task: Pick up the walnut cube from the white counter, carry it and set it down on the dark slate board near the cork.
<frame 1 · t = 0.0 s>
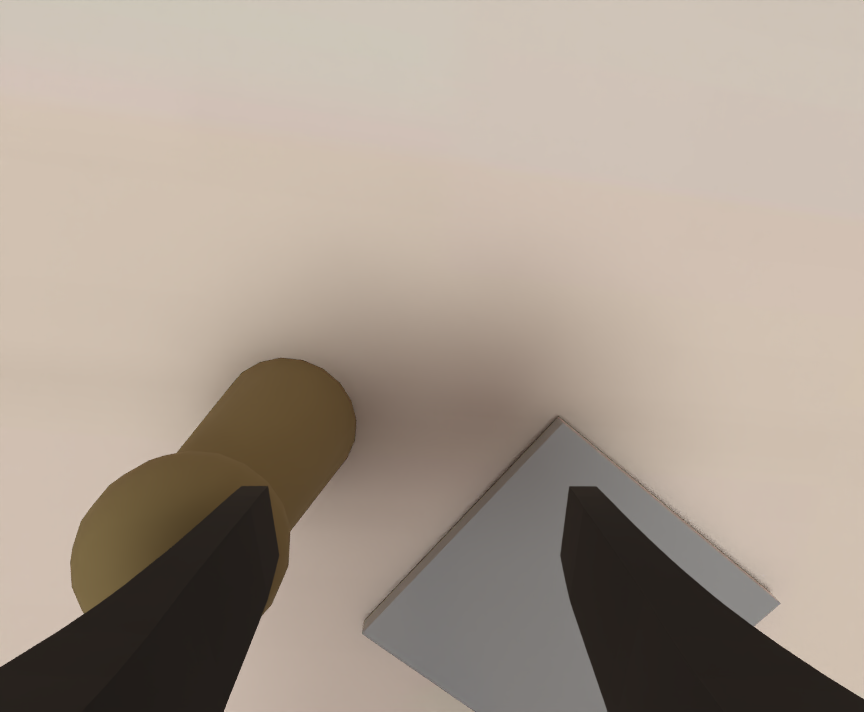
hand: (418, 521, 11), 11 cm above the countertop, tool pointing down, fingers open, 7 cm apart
cork: (290, 421, 22), on the countertop, touching gripper
slate board: (564, 606, 24), on the countertop
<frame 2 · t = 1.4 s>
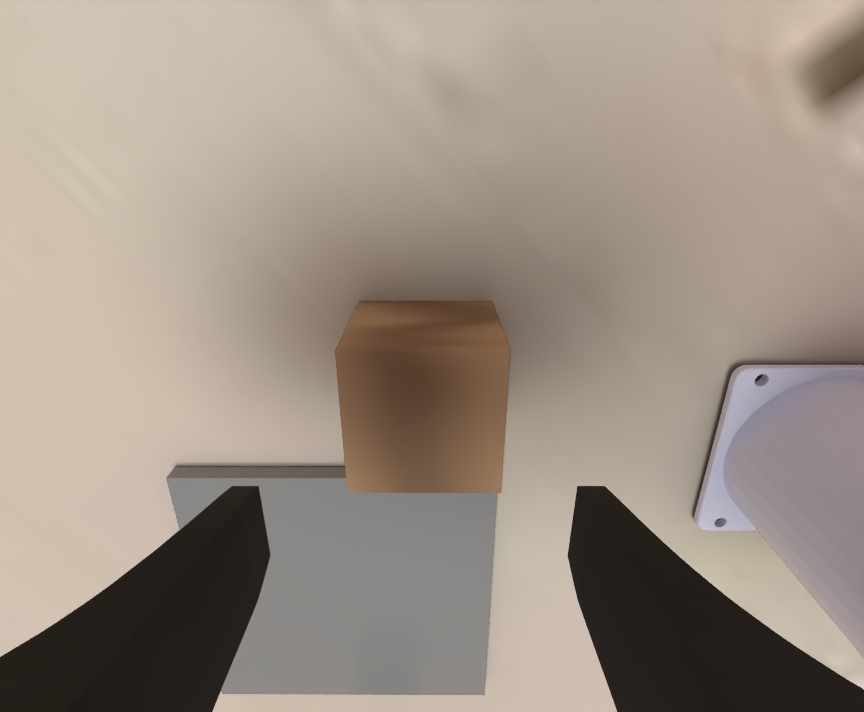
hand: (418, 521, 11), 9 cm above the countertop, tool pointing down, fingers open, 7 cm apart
walnut cube: (426, 360, 20), on the countertop
slate board: (346, 585, 24), on the countertop
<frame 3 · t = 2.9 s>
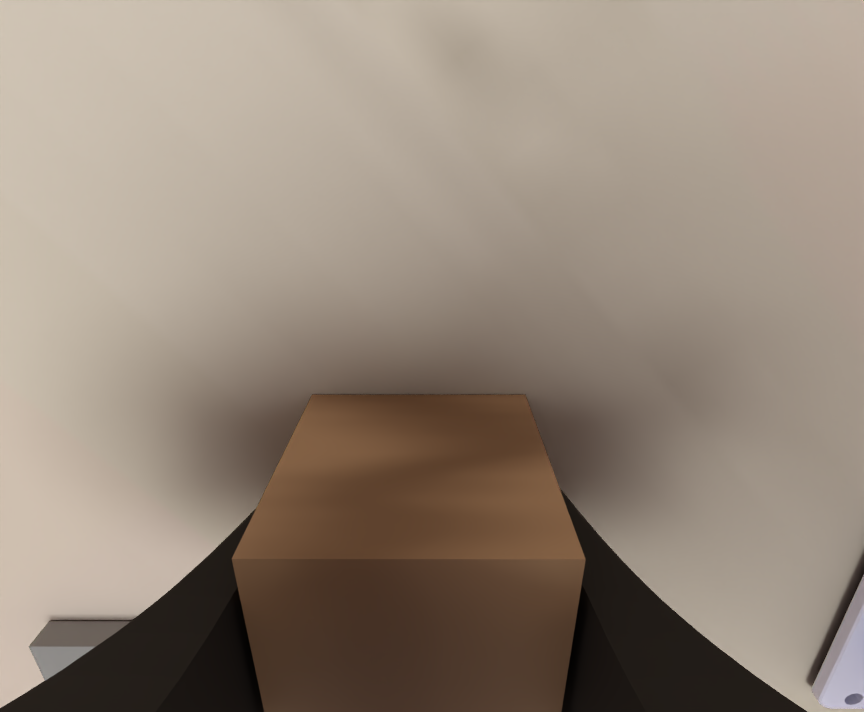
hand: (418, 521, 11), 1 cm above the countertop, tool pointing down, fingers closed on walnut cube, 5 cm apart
walnut cube: (419, 481, 13), on the countertop, touching gripper
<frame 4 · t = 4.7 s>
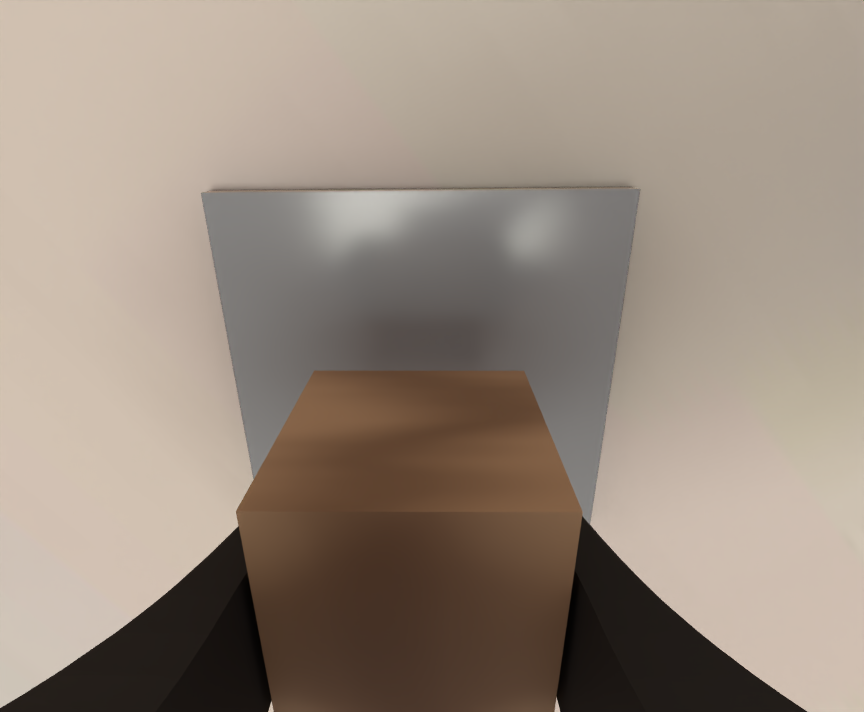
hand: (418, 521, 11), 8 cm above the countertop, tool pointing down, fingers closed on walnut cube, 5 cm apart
walnut cube: (420, 459, 13), point 7 cm above the countertop, touching gripper
slate board: (423, 378, 19), on the countertop
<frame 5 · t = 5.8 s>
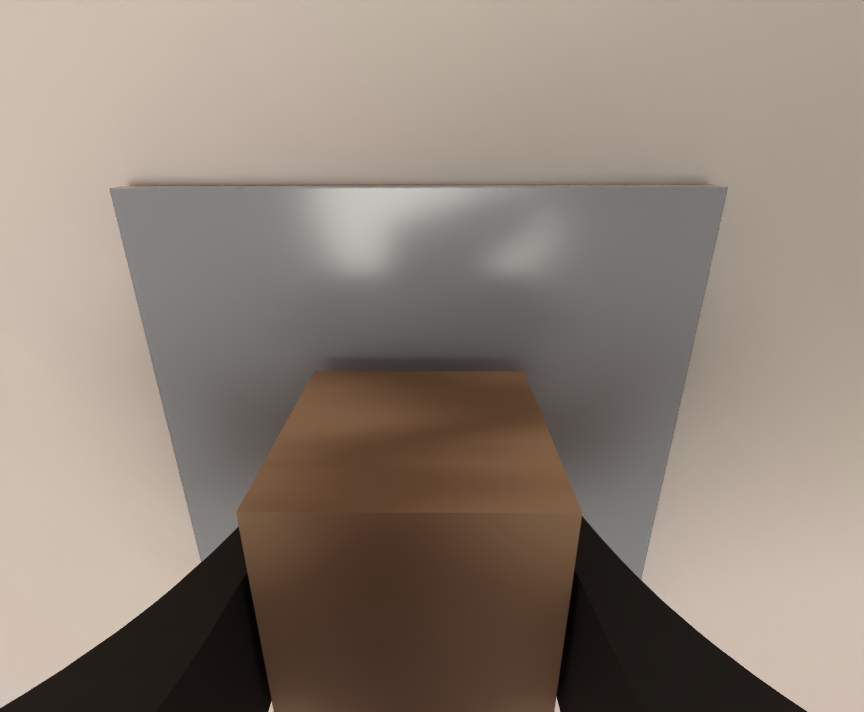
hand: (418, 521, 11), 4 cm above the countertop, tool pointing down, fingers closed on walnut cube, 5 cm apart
walnut cube: (420, 459, 13), point 2 cm above the countertop, touching gripper
slate board: (421, 434, 15), on the countertop
when the fingers open (4 cm above the countertop, at t = 6.5 s): walnut cube drops 1 cm, resting on slate board.
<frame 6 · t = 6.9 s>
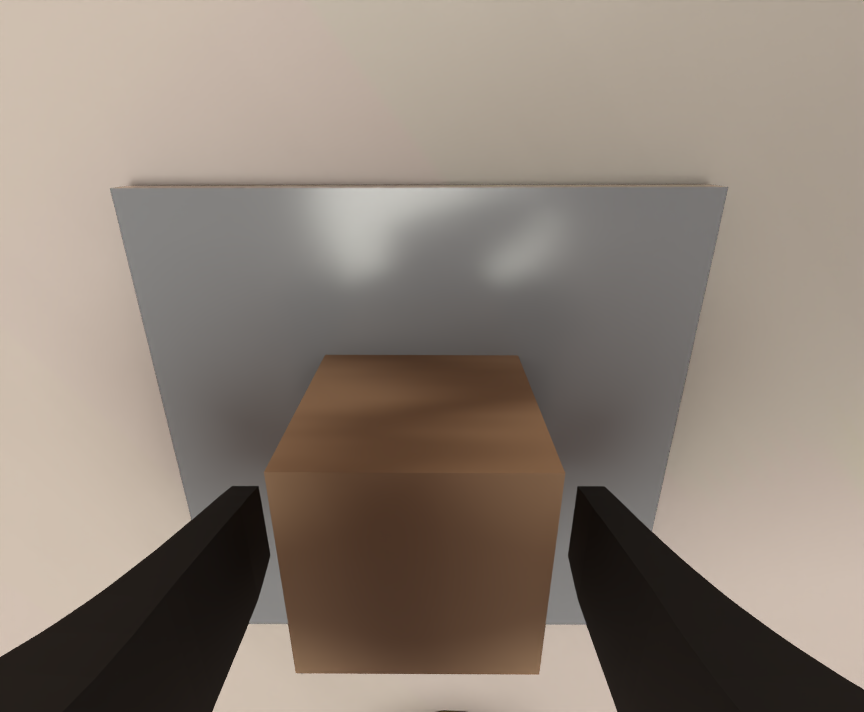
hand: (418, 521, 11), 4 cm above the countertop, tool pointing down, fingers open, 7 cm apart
walnut cube: (422, 437, 14), point 1 cm above the countertop, touching slate board
slate board: (422, 433, 15), on the countertop
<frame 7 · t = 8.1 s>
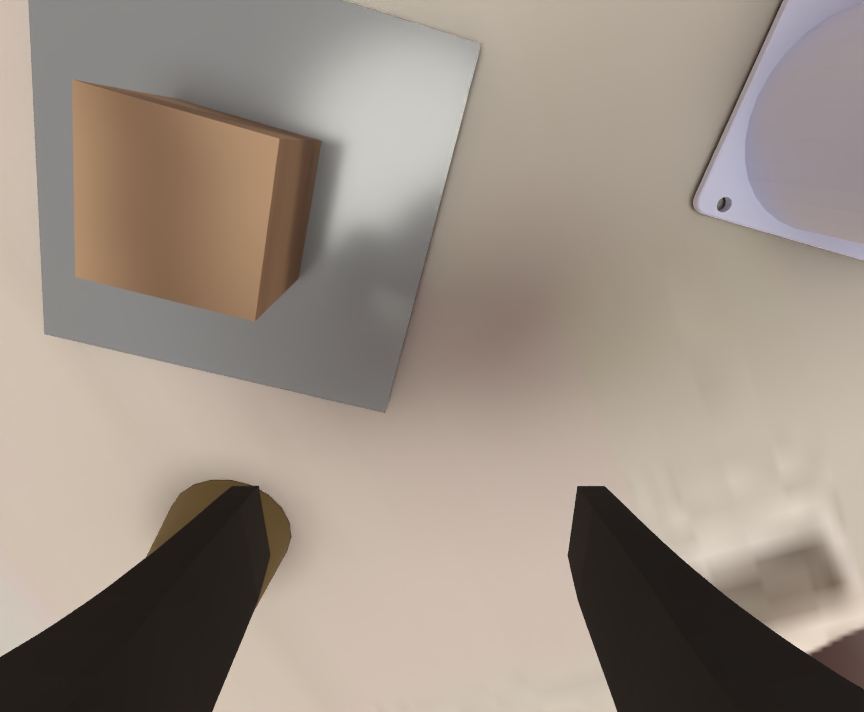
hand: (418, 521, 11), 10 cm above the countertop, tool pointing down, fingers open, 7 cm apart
walnut cube: (240, 194, 18), point 1 cm above the countertop, touching slate board
cork: (232, 526, 25), on the countertop
slate board: (246, 202, 18), on the countertop
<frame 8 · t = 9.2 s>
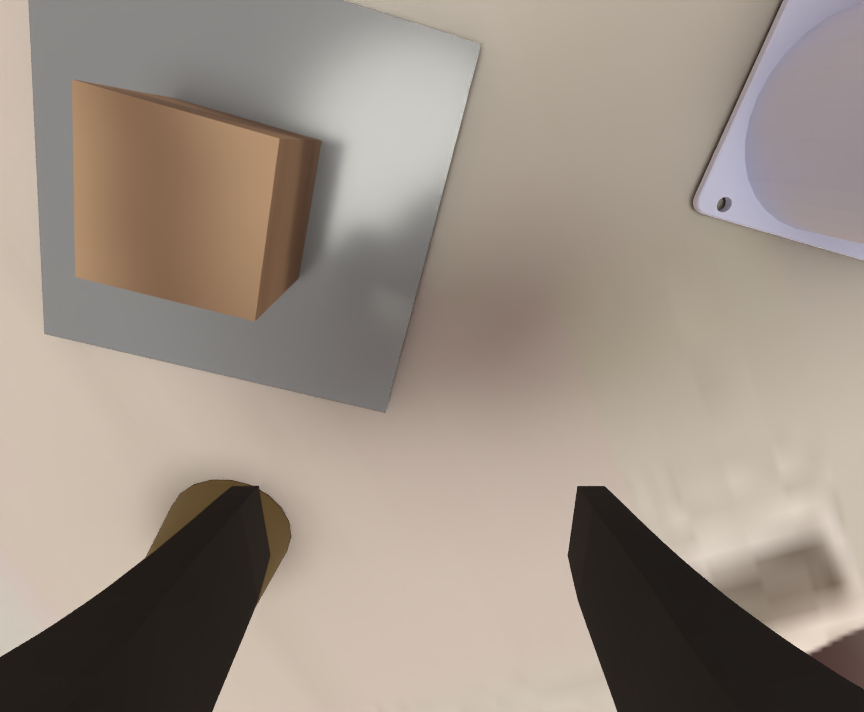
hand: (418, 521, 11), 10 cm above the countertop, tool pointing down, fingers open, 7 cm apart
walnut cube: (240, 194, 18), point 1 cm above the countertop, touching slate board
cork: (232, 526, 25), on the countertop
slate board: (246, 202, 18), on the countertop
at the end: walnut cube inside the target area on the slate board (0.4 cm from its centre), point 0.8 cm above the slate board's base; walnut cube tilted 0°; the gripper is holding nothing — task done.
